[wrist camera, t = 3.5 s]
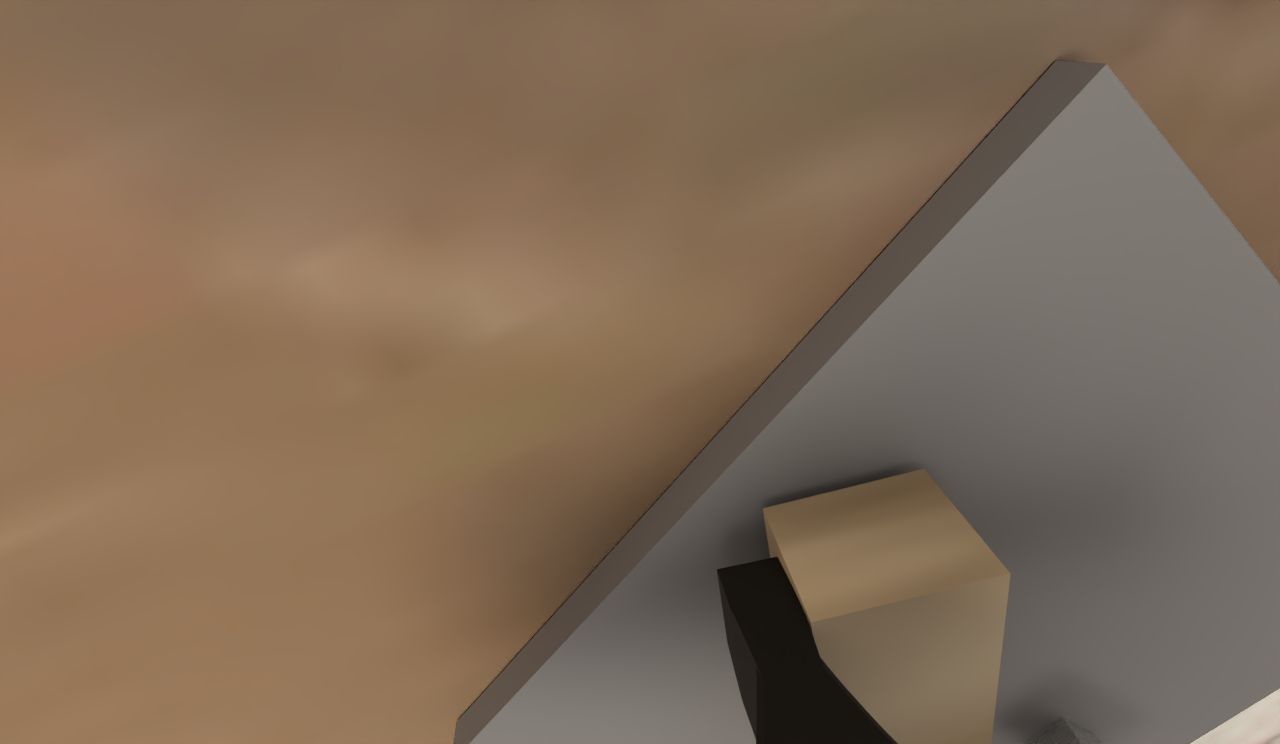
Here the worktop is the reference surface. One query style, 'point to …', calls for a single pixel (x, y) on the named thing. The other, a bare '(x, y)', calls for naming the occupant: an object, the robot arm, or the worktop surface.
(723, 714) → the slate board
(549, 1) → the worktop surface
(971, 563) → the oak link
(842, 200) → the worktop surface
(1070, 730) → the steel keeper
